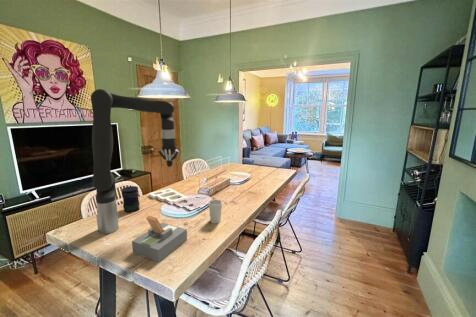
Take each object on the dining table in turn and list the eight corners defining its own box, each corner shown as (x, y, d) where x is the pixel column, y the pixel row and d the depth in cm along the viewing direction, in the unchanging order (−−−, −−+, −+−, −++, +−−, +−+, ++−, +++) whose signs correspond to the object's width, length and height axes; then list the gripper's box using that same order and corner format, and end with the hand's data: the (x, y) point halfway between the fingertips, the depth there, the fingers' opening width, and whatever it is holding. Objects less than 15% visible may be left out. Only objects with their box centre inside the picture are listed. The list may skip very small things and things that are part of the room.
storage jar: (120, 210, 152) (118, 189, 149) (133, 205, 161) (131, 185, 158) (130, 214, 148) (128, 192, 145) (143, 208, 156) (141, 187, 153)
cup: (222, 217, 144) (222, 199, 142) (221, 223, 137) (221, 204, 134) (209, 217, 144) (209, 199, 142) (208, 223, 136) (208, 204, 134)
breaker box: (163, 232, 126) (162, 217, 124) (187, 239, 119) (186, 223, 117) (132, 252, 108) (131, 235, 106) (158, 262, 101) (157, 243, 100)
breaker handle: (157, 231, 114) (148, 215, 107) (165, 233, 112) (156, 217, 105) (155, 234, 112) (145, 218, 106) (163, 236, 110) (154, 220, 104)
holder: (201, 207, 160) (201, 204, 159) (178, 215, 147) (177, 211, 147) (170, 191, 191) (170, 188, 191) (148, 196, 179) (148, 193, 179)
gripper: (154, 137, 130) (156, 167, 134) (176, 138, 128) (177, 168, 131) (161, 136, 137) (162, 164, 141) (181, 136, 135) (183, 165, 139)
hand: (169, 166), depth 136 cm, fingers closed
